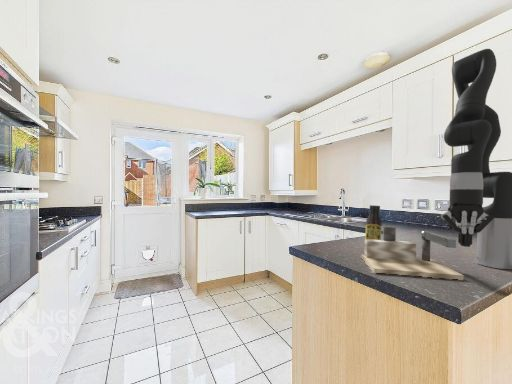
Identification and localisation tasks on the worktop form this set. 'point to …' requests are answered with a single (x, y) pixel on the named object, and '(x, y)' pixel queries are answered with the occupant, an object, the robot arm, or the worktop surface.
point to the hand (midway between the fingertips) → (464, 246)
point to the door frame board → (412, 268)
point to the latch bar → (439, 239)
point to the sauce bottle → (373, 224)
